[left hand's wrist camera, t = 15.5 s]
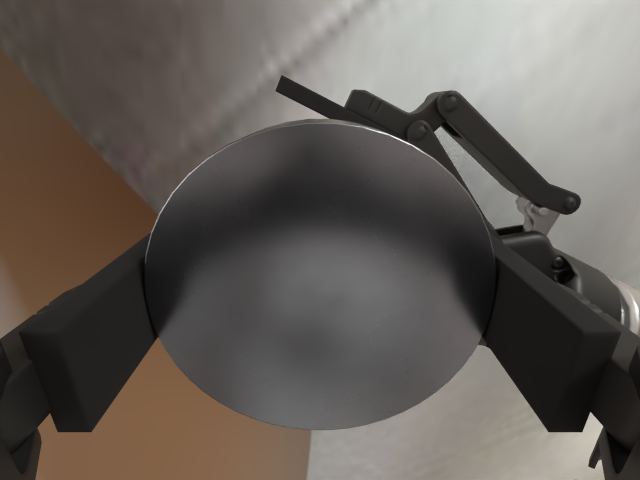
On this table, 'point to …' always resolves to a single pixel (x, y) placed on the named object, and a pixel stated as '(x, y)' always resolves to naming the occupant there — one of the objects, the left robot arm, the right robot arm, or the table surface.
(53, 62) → the table surface
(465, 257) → the lid
